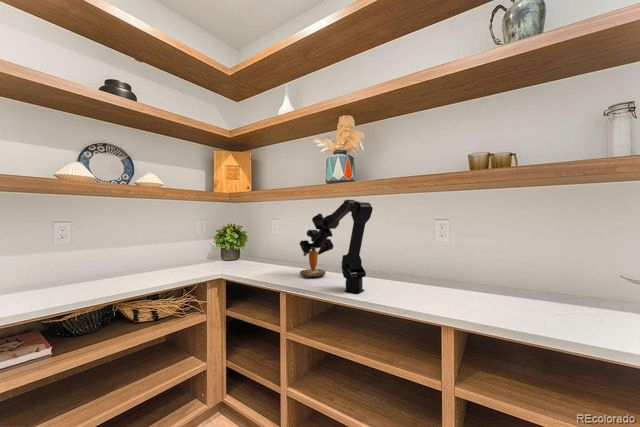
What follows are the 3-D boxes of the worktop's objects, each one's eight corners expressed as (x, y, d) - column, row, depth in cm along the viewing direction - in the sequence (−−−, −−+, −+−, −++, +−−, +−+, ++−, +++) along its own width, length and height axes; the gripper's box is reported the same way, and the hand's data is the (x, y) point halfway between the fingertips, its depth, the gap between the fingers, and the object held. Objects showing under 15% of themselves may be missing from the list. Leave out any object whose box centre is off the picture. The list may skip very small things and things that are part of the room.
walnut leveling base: (330, 275, 148) (330, 270, 148) (315, 280, 137) (315, 275, 137) (310, 272, 156) (310, 267, 156) (294, 276, 145) (294, 271, 145)
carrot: (319, 271, 147) (319, 243, 147) (314, 272, 143) (314, 244, 143) (311, 269, 150) (312, 243, 150) (306, 271, 146) (307, 244, 146)
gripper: (330, 224, 149) (319, 242, 158) (301, 225, 138) (291, 244, 148) (339, 239, 142) (327, 257, 151) (308, 241, 132) (298, 260, 141)
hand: (311, 254), depth 148 cm, fingers open, 9 cm apart
